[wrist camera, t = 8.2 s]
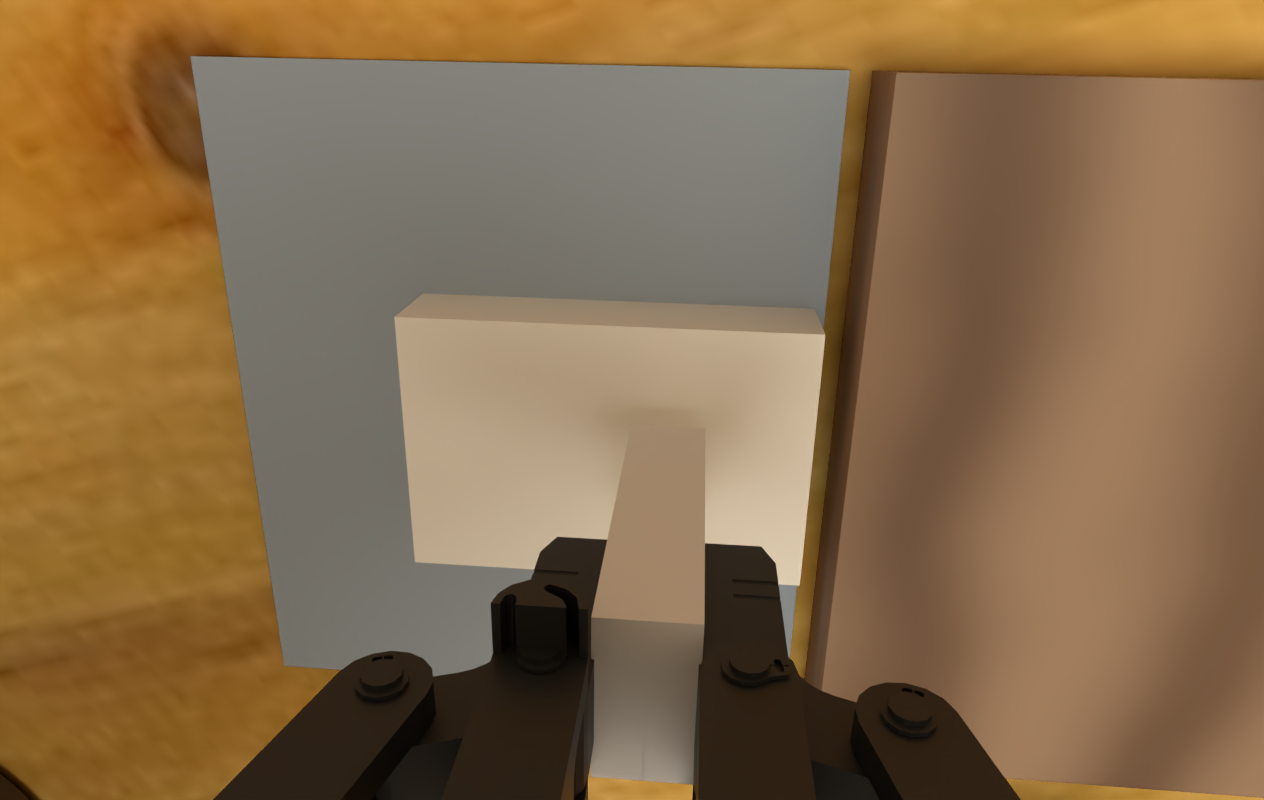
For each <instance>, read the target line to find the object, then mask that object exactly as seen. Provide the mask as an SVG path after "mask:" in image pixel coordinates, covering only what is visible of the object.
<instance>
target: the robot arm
mask: <svg viewBox="0 0 1264 800" xmlns="http://www.w3.org/2000/svg"><path fill="white" fill-rule="evenodd" d="M705 433H706V428H692V427H672V426H652V425H631V428H630V433H629V437H628V442H627V447H626V452H625V457H624V462H623V466H622V471H621V476H620V481H619V486H618V490H617V495H616V500H615V505H614V510H613V515H612V519H611V524H610V529H609V534H608V539H607V540H605V539H588V538H571V537H556V538H555V539H554V540H553V541H552V542H551V543H550V544H548V545H547V546H546V547H545V548H544V549H543V550H542V551H540V554H539V557H538V560H537V563H536V566H535V569H534V573H533V575H532V577H531V580H527V581H523V582H520V583H516V584H512V585H510V586H509V587H507V588H505V589H504V590H502V591H500V592H499V593H498V594H497V595H496V597H495V598H494V599H493V601H492V602H491V623H492V644H493V655H492V658H491V661H490V662H488V663H487V664H484V665H482V666H479V667H477V668H475V669H471V670H467V671H463V672H458V673H452V674H446V675H439V676H433V672H432V668H431V666H430V665H429V664H428V663H427V662H426V661H425V660H424V659H423V658H421V657H419V656H416V655H414V654H412V653H409V652H399V651H387V652H380V653H373V654H370V655H367V656H365V657H362V658H360V659H357V660H355V661H353V662H352V663H350V664H349V665H348V666H346V667H345V668H344V669H342V670H341V671H340V672H339V673H338V674H337V675H336V676H335V677H334V678H333V679H332V680H331V681H330V682H329V683H328V684H327V685H326V686H325V687H324V688H323V689H322V690H321V691H320V692H319V693H318V694H317V695H316V696H315V697H314V698H313V699H312V700H311V701H310V702H309V703H308V704H307V705H306V706H305V707H304V708H303V709H302V710H301V711H300V712H299V713H298V714H297V715H296V716H295V717H294V718H293V719H292V720H291V721H290V722H289V723H288V724H287V725H286V726H285V727H284V728H283V729H282V730H281V731H280V732H279V733H278V734H277V735H276V736H275V737H274V739H273V740H272V741H271V742H270V743H269V744H268V745H267V746H266V747H265V748H264V749H263V750H262V751H261V752H260V753H259V754H258V755H257V756H256V757H255V758H254V759H253V760H252V761H251V762H250V763H249V764H248V765H247V766H246V767H245V768H244V769H243V770H242V771H241V772H240V773H239V774H238V775H237V776H236V777H235V778H234V779H233V780H232V781H231V782H230V783H229V784H228V785H227V786H226V787H225V788H224V789H223V790H222V791H221V792H220V793H219V794H218V795H217V796H216V797H215V798H214V799H213V800H588V774H589V768H590V762H591V777H602V778H615V779H628V780H641V781H654V782H667V783H680V784H693V799H692V800H1020V798H1019V797H1018V796H1017V794H1016V793H1015V791H1014V790H1013V789H1012V787H1011V786H1010V784H1009V783H1008V782H1007V780H1006V779H1005V777H1004V776H1003V775H1002V773H1001V772H1000V771H999V769H998V768H997V766H996V765H995V764H994V762H993V761H992V759H991V758H990V757H989V755H988V754H987V752H986V751H985V750H984V748H983V747H982V746H981V744H980V743H979V741H978V740H977V739H976V737H975V736H974V734H973V733H972V732H971V730H970V729H969V727H968V726H967V725H966V723H965V722H964V720H963V719H962V718H961V716H960V715H959V714H958V712H957V711H956V710H955V709H954V708H953V707H952V706H951V705H950V704H949V703H948V702H947V701H946V700H945V699H943V698H942V697H940V696H938V695H936V694H934V693H933V692H931V691H929V690H927V689H925V688H921V687H918V686H914V685H911V684H907V683H892V682H886V683H882V684H878V685H874V686H870V687H869V688H868V689H866V690H865V691H864V692H862V693H861V694H860V695H859V697H858V700H857V702H854V701H850V700H847V699H843V698H840V697H837V696H834V695H831V694H829V693H826V692H823V691H821V690H819V689H817V688H816V687H814V686H812V685H810V684H809V683H807V682H806V681H805V680H804V679H803V678H801V677H800V676H799V675H798V672H797V670H796V667H795V665H794V663H793V661H792V660H791V659H790V658H789V657H788V651H787V643H786V636H785V629H784V621H783V614H782V606H781V601H780V591H779V586H778V577H777V569H776V563H775V562H774V561H773V560H772V559H771V557H770V556H769V555H768V554H767V553H766V551H765V550H764V549H763V548H762V547H761V546H744V545H727V544H710V543H705ZM0 800H29V799H28V798H27V797H26V796H25V795H24V794H23V793H22V792H21V791H20V790H18V789H17V788H16V787H15V786H14V785H13V784H12V783H11V782H9V781H8V780H7V779H6V778H4V777H3V776H2V775H1V774H0Z"/></svg>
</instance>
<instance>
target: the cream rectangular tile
mask: <svg viewBox="0 0 1264 800" xmlns="http://www.w3.org/2000/svg"><path fill="white" fill-rule="evenodd" d="M394 320H395V331H396V343H397V355H398V367H399V379H400V391H401V403H402V415H403V426H404V438H405V450H406V462H407V474H408V486H409V498H410V510H411V522H412V533H413V545H414V557H415V562H419V563H436V564H452V565H468V566H485V567H501V568H518V569H535V566H536V563H537V560H538V557H539V554H540V551H542V550H543V549H544V548H545V547H546V546H547V545H548V544H550V543H551V542H552V541H553V540H554V539H555V538H556V537H571V538H588V539H605V540H607V539H608V534H609V529H610V524H611V519H612V515H613V510H614V505H615V500H616V495H617V490H618V486H619V481H620V476H621V471H622V466H623V462H624V457H625V452H626V447H627V442H628V437H629V433H630V428H631V425H652V426H672V427H692V428H706V433H705V543H710V544H727V545H744V546H761V547H762V548H763V549H764V550H765V551H766V553H767V554H768V555H769V556H770V557H771V559H772V560H773V561H774V562H775V563H776V569H777V577H778V584H781V585H797V586H800V578H801V568H802V558H803V549H804V539H805V529H806V519H807V510H808V500H809V490H810V481H811V471H812V461H813V451H814V442H815V432H816V422H817V413H818V403H819V393H820V383H821V374H822V364H823V354H824V345H825V332H824V330H823V328H822V325H821V323H820V320H819V318H818V316H817V313H816V311H815V309H812V308H786V307H760V306H734V305H709V304H683V303H657V302H632V301H606V300H580V299H555V298H529V297H503V296H478V295H452V294H426V293H423V294H422V295H420V296H419V297H418V298H417V299H416V300H414V301H413V302H412V303H411V304H410V305H408V306H407V307H406V308H405V309H403V310H402V311H401V312H400V313H399V314H397V315H396V316H395V317H394Z"/></svg>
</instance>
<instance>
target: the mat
mask: <svg viewBox="0 0 1264 800" xmlns="http://www.w3.org/2000/svg"><path fill="white" fill-rule="evenodd" d="M191 63H192V69H193V76H194V82H195V89H196V95H197V102H198V108H199V115H200V121H201V128H202V134H203V141H204V147H205V154H206V160H207V167H208V173H209V180H210V186H211V193H212V199H213V206H214V212H215V219H216V225H217V232H218V238H219V245H220V251H221V258H222V264H223V271H224V277H225V284H226V290H227V297H228V304H229V310H230V317H231V323H232V330H233V336H234V343H235V349H236V356H237V362H238V369H239V375H240V382H241V388H242V395H243V401H244V408H245V414H246V421H247V427H248V434H249V440H250V447H251V453H252V460H253V466H254V473H255V479H256V486H257V492H258V499H259V505H260V512H261V518H262V525H263V531H264V538H265V544H266V551H267V557H268V564H269V570H270V577H271V583H272V590H273V596H274V603H275V609H276V616H277V622H278V629H279V635H280V642H281V648H282V655H283V661H284V666H293V667H307V668H321V669H335V670H342V669H344V668H345V667H346V666H348V665H349V664H350V663H352V662H353V661H355V660H357V659H360V658H362V657H365V656H367V655H370V654H373V653H380V652H387V651H399V652H409V653H412V654H414V655H416V656H419V657H421V658H423V659H424V660H425V661H426V662H427V663H428V664H429V665H430V666H431V668H432V672H433V676H439V675H446V674H452V673H458V672H463V671H467V670H471V669H475V668H477V667H479V666H482V665H484V664H487V663H488V662H490V661H491V658H492V655H493V644H492V623H491V602H492V601H493V599H494V598H495V597H496V595H497V594H498V593H499V592H500V591H502V590H504V589H505V588H507V587H509V586H510V585H512V584H516V583H520V582H523V581H527V580H531V577H532V575H533V573H534V569H518V568H501V567H485V566H468V565H452V564H436V563H419V562H415V557H414V545H413V533H412V522H411V510H410V498H409V486H408V474H407V462H406V450H405V438H404V426H403V415H402V403H401V391H400V379H399V367H398V355H397V343H396V331H395V320H394V317H395V316H396V315H397V314H399V313H400V312H401V311H402V310H403V309H405V308H406V307H407V306H408V305H410V304H411V303H412V302H413V301H414V300H416V299H417V298H418V297H419V296H420V295H422V294H423V293H426V294H452V295H478V296H503V297H529V298H555V299H580V300H606V301H632V302H657V303H683V304H709V305H734V306H760V307H786V308H812V309H815V311H816V313H817V316H818V318H819V320H820V323H821V325H822V328H823V330H824V321H825V311H826V301H827V292H828V282H829V272H830V263H831V253H832V243H833V234H834V224H835V214H836V204H837V195H838V185H839V175H840V166H841V156H842V146H843V137H844V127H845V117H846V107H847V98H848V88H849V78H850V70H820V69H774V68H727V67H680V66H633V65H586V64H539V63H492V62H445V61H398V60H351V59H304V58H257V57H210V56H191ZM778 586H779V591H780V601H781V606H782V614H783V621H784V629H785V636H786V643H787V651H788V657H789V658H790V651H791V641H792V631H793V622H794V612H795V602H796V593H797V585H781V584H778Z"/></svg>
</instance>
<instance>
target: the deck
mask: <svg viewBox="0 0 1264 800" xmlns="http://www.w3.org/2000/svg"><path fill="white" fill-rule="evenodd" d="M805 681H806V682H807V683H809V684H810V685H812V686H814V687H816V688H817V689H819V690H821V691H823V692H826V693H829V694H831V695H834V696H837V697H840V698H843V699H847V700H850V701H854V702H857V700H858V697H859V695H860V694H861V693H862V692H864V691H865V690H866V689H868V688H869V687H870V686H874V685H878V684H882V683H886V682H892V683H907V684H911V685H914V686H918V687H921V688H925V689H927V690H929V691H931V692H933V693H934V694H936V695H938V696H940V697H942V698H943V699H945V700H946V701H947V702H948V703H949V704H950V705H951V706H952V707H953V708H954V709H955V710H956V711H957V712H958V714H959V715H960V716H961V718H962V719H963V720H964V722H965V723H966V725H967V726H968V727H969V729H970V730H971V732H972V733H973V734H974V736H975V737H976V739H977V740H978V741H979V743H980V744H981V746H982V747H983V748H984V750H985V751H986V752H987V754H988V755H989V757H990V758H991V759H992V761H993V762H994V764H995V765H996V766H997V768H998V769H999V771H1000V772H1001V773H1002V775H1003V776H1004V777H1005V778H1009V779H1022V780H1035V781H1048V782H1062V783H1075V784H1088V785H1101V786H1114V787H1128V788H1141V789H1154V790H1167V791H1181V792H1194V793H1207V794H1220V795H1233V796H1247V797H1260V798H1264V79H1243V78H1196V77H1149V76H1102V75H1055V74H1008V73H961V72H914V71H873V72H872V81H871V90H870V99H869V108H868V117H867V126H866V135H865V144H864V153H863V162H862V171H861V180H860V189H859V197H858V206H857V215H856V224H855V233H854V242H853V251H852V260H851V269H850V278H849V287H848V296H847V305H846V314H845V323H844V332H843V341H842V350H841V358H840V367H839V376H838V385H837V394H836V403H835V412H834V421H833V430H832V439H831V448H830V457H829V466H828V475H827V484H826V493H825V502H824V511H823V519H822V528H821V537H820V546H819V555H818V564H817V573H816V582H815V591H814V600H813V609H812V618H811V627H810V636H809V645H808V654H807V663H806V672H805Z"/></svg>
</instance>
